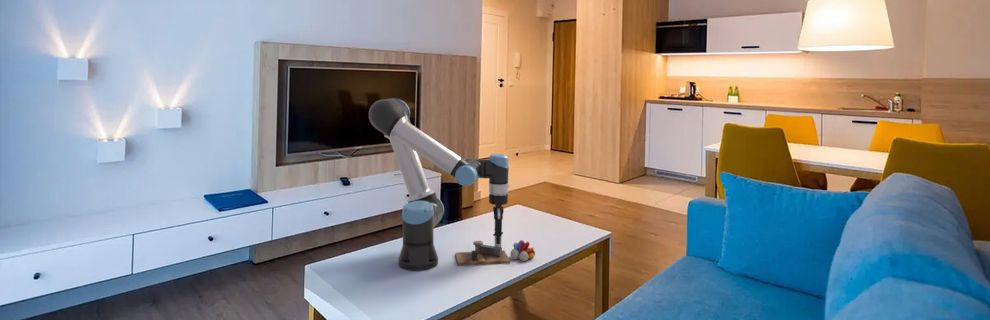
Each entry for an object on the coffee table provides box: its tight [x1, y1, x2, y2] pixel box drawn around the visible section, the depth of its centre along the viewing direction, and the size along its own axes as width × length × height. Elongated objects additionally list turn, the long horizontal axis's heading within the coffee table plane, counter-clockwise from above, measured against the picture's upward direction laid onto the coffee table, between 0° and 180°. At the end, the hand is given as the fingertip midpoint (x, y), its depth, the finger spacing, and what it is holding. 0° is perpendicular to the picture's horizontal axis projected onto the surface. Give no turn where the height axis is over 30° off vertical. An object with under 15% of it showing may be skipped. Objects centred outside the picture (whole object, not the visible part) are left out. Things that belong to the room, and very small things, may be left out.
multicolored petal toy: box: [509, 239, 536, 262], centre depth 212 cm, size 8×10×7 cm
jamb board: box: [455, 240, 511, 267], centre depth 211 cm, size 20×13×5 cm, turn 99°
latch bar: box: [480, 244, 503, 256], centre depth 213 cm, size 8×2×3 cm, turn 66°
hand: (497, 250), depth 214 cm, fingers closed
